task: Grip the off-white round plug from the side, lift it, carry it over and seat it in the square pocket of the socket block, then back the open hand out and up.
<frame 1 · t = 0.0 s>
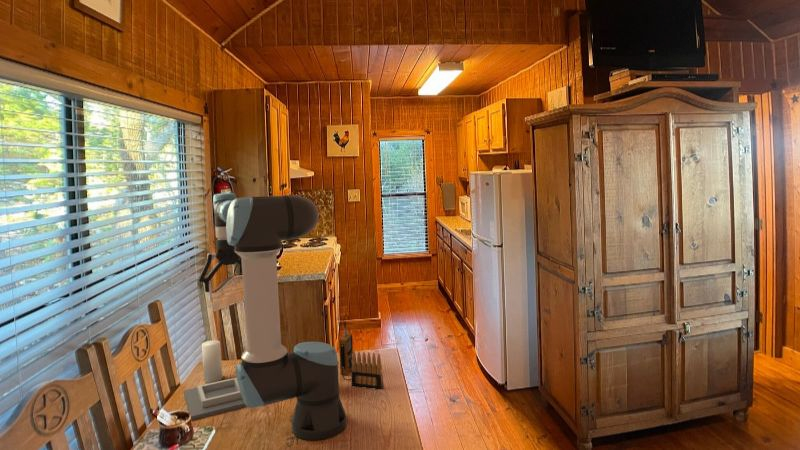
hand: (231, 298, 165), 28 cm above the table, tool pointing down, fingers open, 13 cm apart
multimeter: (356, 372, 168), on the table
socket block: (221, 398, 150), on the table
plug: (213, 379, 165), on the table
ammunition clip: (367, 387, 156), on the table
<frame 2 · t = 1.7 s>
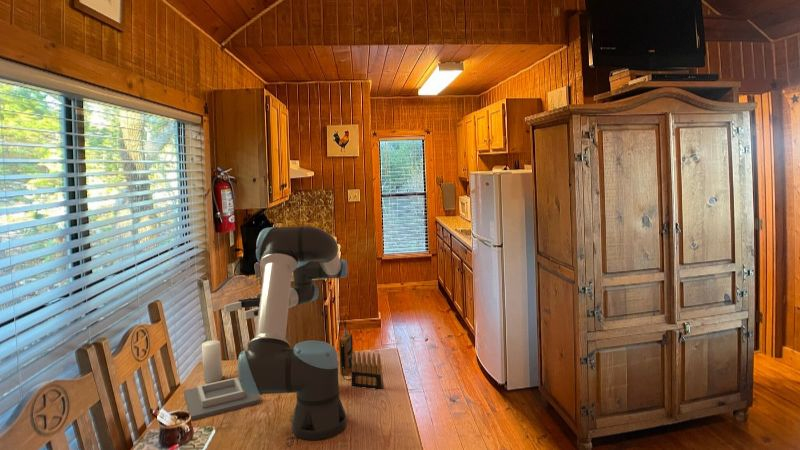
hand: (234, 312, 170), 22 cm above the table, tool horizontal, fingers open, 13 cm apart
nothing on the table moved.
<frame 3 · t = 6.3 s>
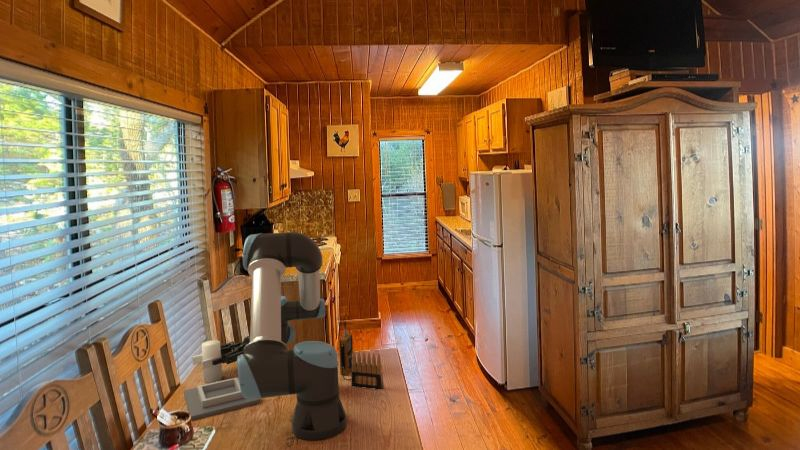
hand: (197, 363, 161), 8 cm above the table, tool horizontal, fingers closed on plug, 6 cm apart
plug: (213, 379, 165), on the table, touching gripper
everything else where it was.
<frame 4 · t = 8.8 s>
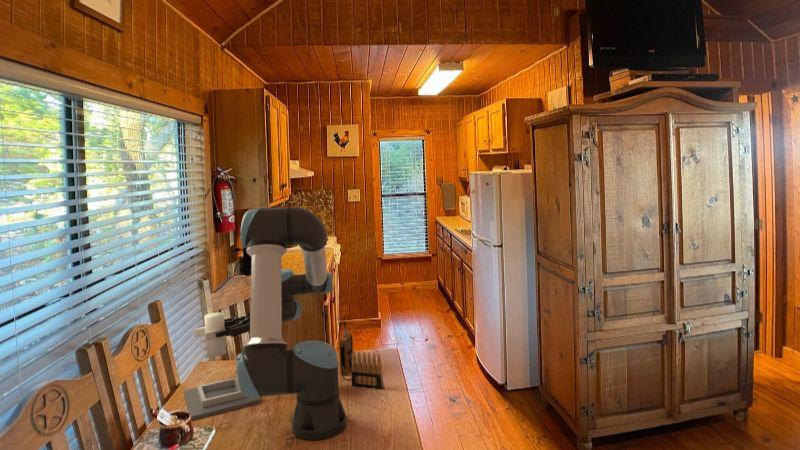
hand: (200, 335, 151), 20 cm above the table, tool horizontal, fingers closed on plug, 6 cm apart
plug: (216, 353, 156), point 12 cm above the table, touching gripper
everything else where it was.
when the fingers open (10 cm above the table, at t = 11.6 s): plug stays where it is, resting on socket block.
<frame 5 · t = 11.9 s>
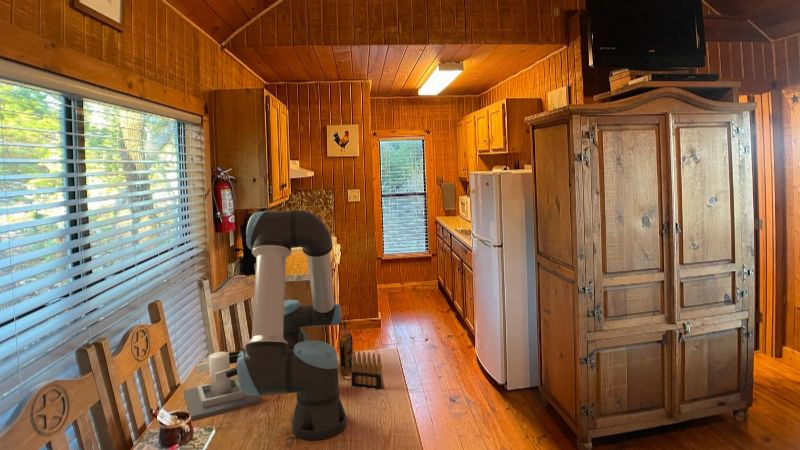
hand: (206, 373, 146), 10 cm above the table, tool horizontal, fingers open, 10 cm apart
plug: (221, 394, 150), point 1 cm above the table, touching socket block
everything else where it was.
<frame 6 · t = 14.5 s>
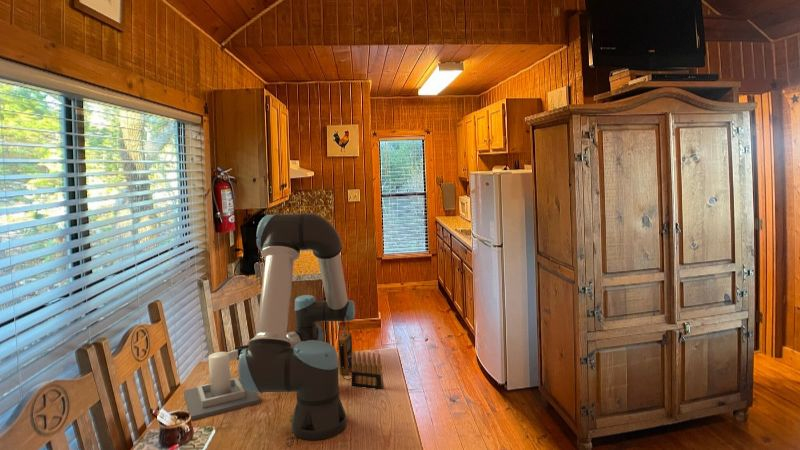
hand: (230, 364, 153), 10 cm above the table, tool horizontal, fingers open, 13 cm apart
nothing on the table moved.
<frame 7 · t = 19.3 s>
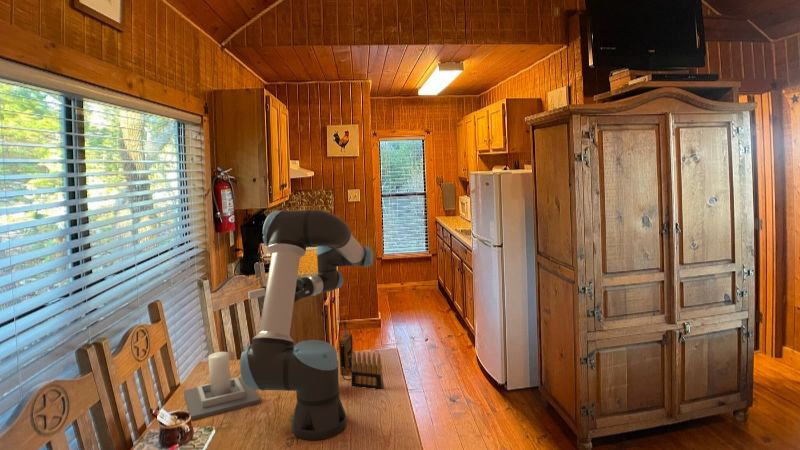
hand: (259, 298, 164), 28 cm above the table, tool horizontal, fingers open, 13 cm apart
nothing on the table moved.
at the end: plug 0.1 cm off-centre on the socket block, point 1.2 cm above the socket block's base; plug tilted 0°; the gripper is holding nothing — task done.
